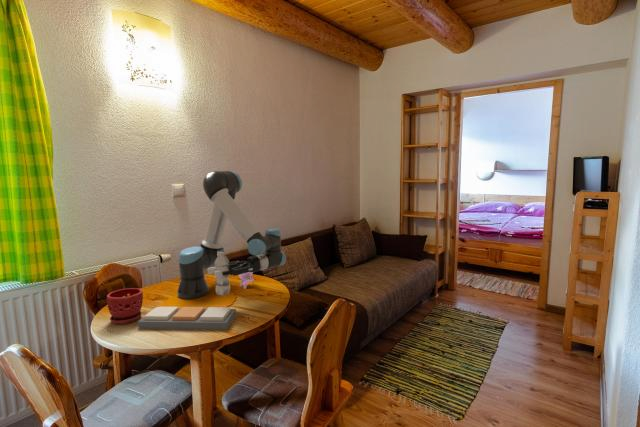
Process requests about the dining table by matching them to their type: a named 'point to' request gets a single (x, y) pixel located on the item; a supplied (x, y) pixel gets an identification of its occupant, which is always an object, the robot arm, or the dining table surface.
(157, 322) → the keypad frame
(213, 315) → the pale key
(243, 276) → the lily
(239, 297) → the dining table surface
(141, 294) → the plant pot
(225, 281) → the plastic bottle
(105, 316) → the dining table surface
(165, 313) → the pale key
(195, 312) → the orange key
